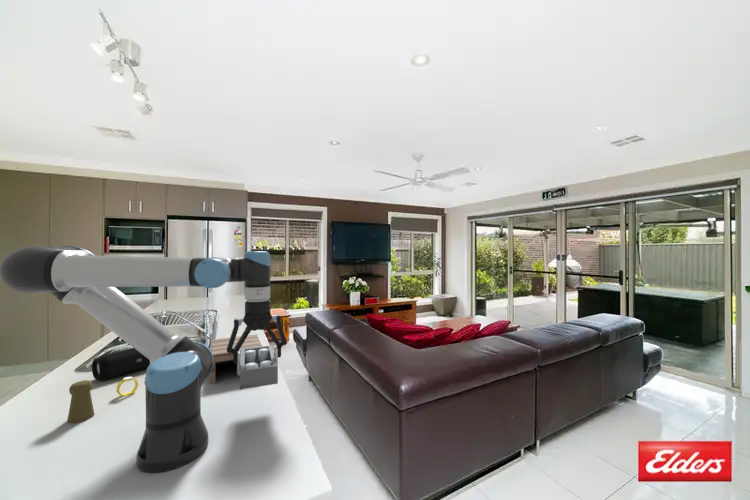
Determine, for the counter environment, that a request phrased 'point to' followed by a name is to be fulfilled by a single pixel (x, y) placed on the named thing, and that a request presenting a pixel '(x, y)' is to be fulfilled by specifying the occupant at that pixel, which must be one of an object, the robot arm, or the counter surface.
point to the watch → (123, 382)
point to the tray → (258, 367)
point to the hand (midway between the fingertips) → (257, 370)
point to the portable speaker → (118, 364)
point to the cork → (80, 402)
